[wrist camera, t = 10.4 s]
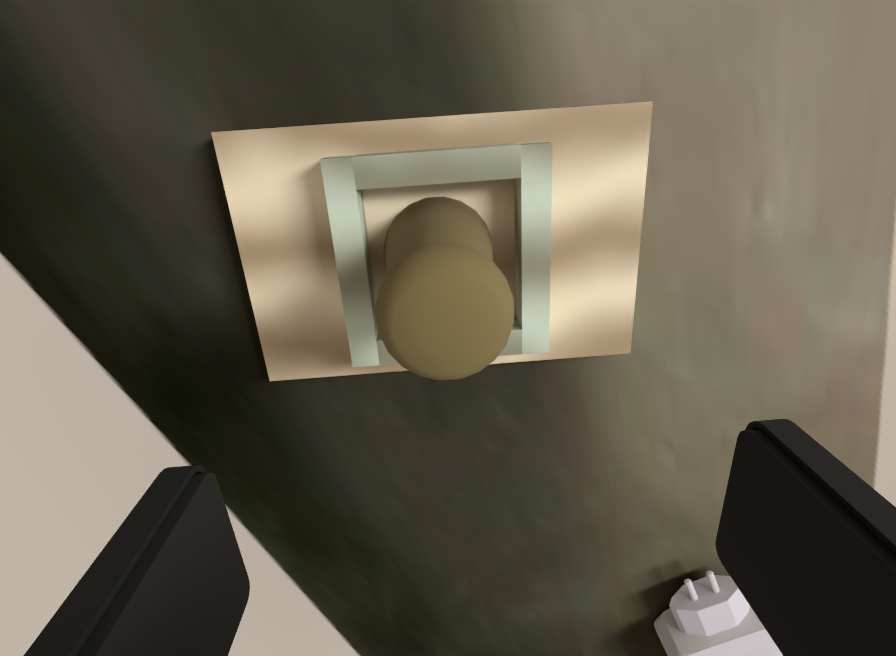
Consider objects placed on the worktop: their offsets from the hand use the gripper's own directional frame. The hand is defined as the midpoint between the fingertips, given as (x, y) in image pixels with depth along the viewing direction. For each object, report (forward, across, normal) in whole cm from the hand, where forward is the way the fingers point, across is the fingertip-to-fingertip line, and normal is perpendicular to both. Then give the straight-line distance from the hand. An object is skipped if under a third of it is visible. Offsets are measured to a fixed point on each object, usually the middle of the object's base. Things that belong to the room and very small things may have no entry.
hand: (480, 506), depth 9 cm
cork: (+20, 0, 0) cm, 20 cm away
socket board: (+21, 0, 0) cm, 21 cm away
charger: (+21, -20, +33) cm, 44 cm away
